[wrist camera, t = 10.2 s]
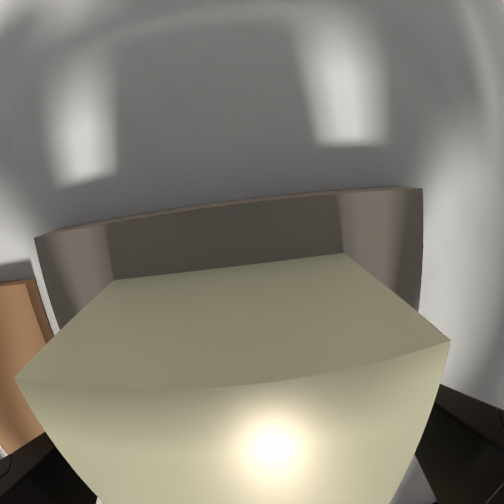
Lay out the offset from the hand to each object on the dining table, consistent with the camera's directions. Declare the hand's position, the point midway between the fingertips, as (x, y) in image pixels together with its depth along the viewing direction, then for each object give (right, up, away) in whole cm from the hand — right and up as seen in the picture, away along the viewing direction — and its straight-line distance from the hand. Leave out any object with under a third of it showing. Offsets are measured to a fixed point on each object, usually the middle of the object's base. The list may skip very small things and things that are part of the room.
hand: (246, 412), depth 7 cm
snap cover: (0, 0, +1) cm, 1 cm away
